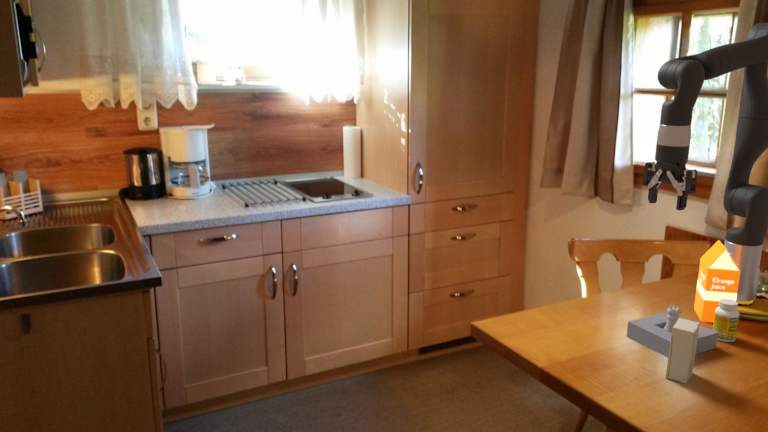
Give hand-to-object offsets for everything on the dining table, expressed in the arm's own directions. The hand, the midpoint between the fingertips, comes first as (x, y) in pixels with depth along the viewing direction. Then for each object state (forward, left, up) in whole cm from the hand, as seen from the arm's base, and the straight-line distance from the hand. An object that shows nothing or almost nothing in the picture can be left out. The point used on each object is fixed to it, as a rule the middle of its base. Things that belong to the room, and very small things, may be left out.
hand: (666, 206), depth 161 cm
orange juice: (-14, +7, -30) cm, 34 cm away
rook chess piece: (+9, +13, -29) cm, 33 cm away
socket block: (+9, +13, -30) cm, 34 cm away
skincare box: (+21, +25, -30) cm, 45 cm away
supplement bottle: (-5, +17, -30) cm, 35 cm away
